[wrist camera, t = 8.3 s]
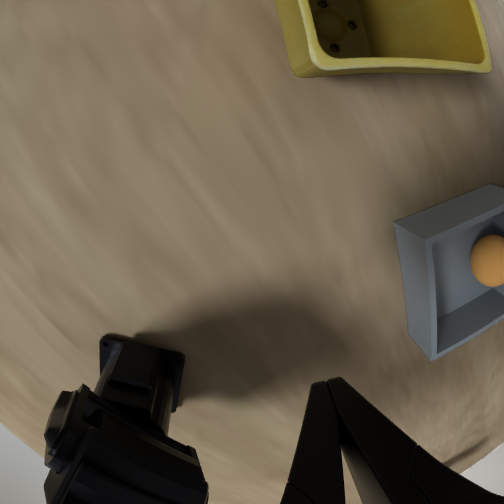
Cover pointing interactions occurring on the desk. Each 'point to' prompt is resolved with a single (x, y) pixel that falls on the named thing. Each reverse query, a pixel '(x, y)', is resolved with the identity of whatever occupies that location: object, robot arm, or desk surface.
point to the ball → (488, 260)
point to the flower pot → (383, 37)
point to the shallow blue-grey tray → (449, 270)
